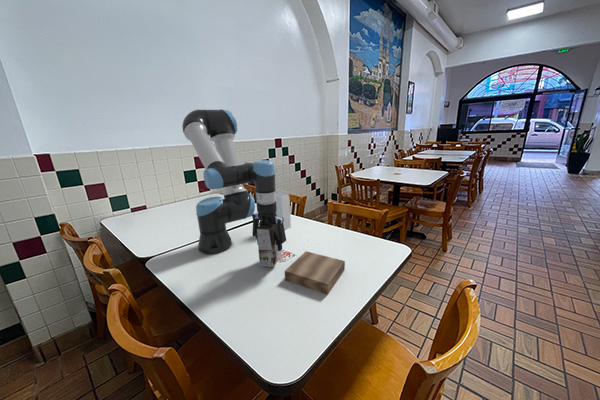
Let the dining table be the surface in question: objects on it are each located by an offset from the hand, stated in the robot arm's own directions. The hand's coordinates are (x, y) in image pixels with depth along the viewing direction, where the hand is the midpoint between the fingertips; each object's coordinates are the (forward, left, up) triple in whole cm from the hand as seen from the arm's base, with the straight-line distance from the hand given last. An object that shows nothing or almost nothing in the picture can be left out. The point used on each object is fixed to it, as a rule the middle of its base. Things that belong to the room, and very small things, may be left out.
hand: (270, 254), depth 99 cm
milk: (-16, +33, -4) cm, 37 cm away
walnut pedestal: (+20, +1, -4) cm, 21 cm away
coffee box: (0, 0, -3) cm, 3 cm away
